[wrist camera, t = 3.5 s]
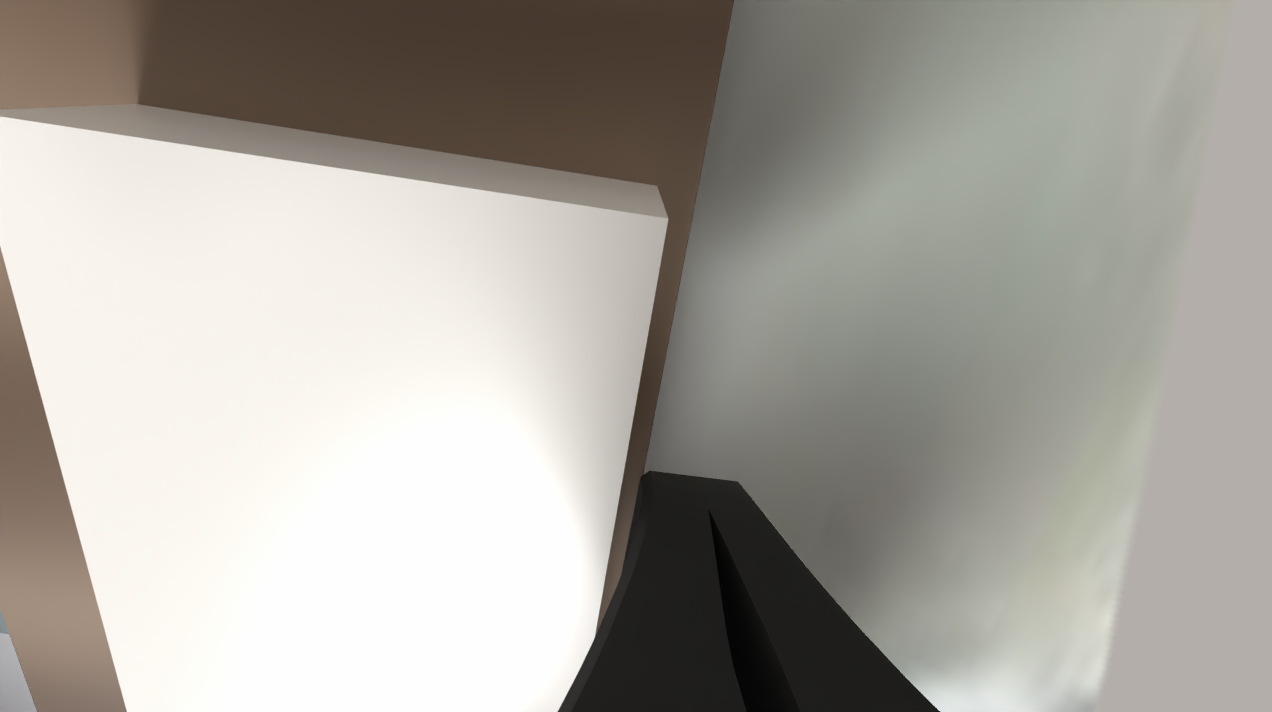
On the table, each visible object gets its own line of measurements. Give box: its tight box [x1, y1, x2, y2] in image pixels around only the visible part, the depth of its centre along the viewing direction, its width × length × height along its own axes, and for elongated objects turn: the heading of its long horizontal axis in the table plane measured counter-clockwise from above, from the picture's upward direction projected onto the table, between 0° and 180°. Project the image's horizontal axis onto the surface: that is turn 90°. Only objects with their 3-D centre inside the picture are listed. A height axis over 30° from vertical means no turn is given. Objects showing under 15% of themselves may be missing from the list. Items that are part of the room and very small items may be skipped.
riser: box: [0, 0, 734, 712], centre depth 11 cm, size 16×10×4 cm, turn 171°
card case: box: [0, 104, 668, 712], centre depth 8 cm, size 9×6×2 cm, turn 171°
